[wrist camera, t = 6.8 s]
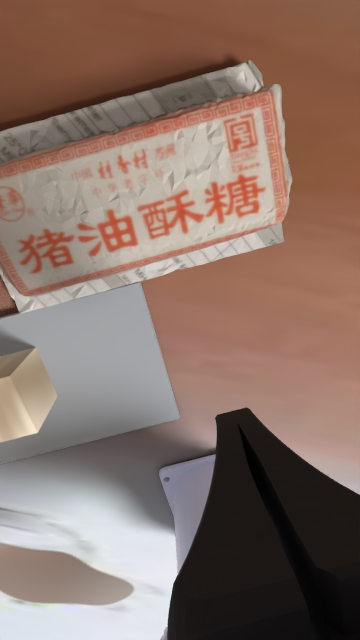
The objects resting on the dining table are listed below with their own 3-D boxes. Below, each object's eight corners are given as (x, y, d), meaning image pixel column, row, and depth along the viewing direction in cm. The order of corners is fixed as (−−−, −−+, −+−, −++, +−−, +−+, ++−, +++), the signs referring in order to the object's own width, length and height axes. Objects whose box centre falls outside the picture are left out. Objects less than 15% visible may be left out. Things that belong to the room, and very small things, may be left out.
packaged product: (287, 16, 13) (313, 247, 16) (253, 68, 18) (278, 240, 21) (-116, 131, 13) (-11, 336, 17) (-47, 152, 18) (25, 310, 21)
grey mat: (179, 413, 24) (180, 418, 24) (-89, 482, 24) (-95, 488, 24) (140, 280, 21) (139, 282, 20) (-175, 362, 21) (-184, 366, 20)
